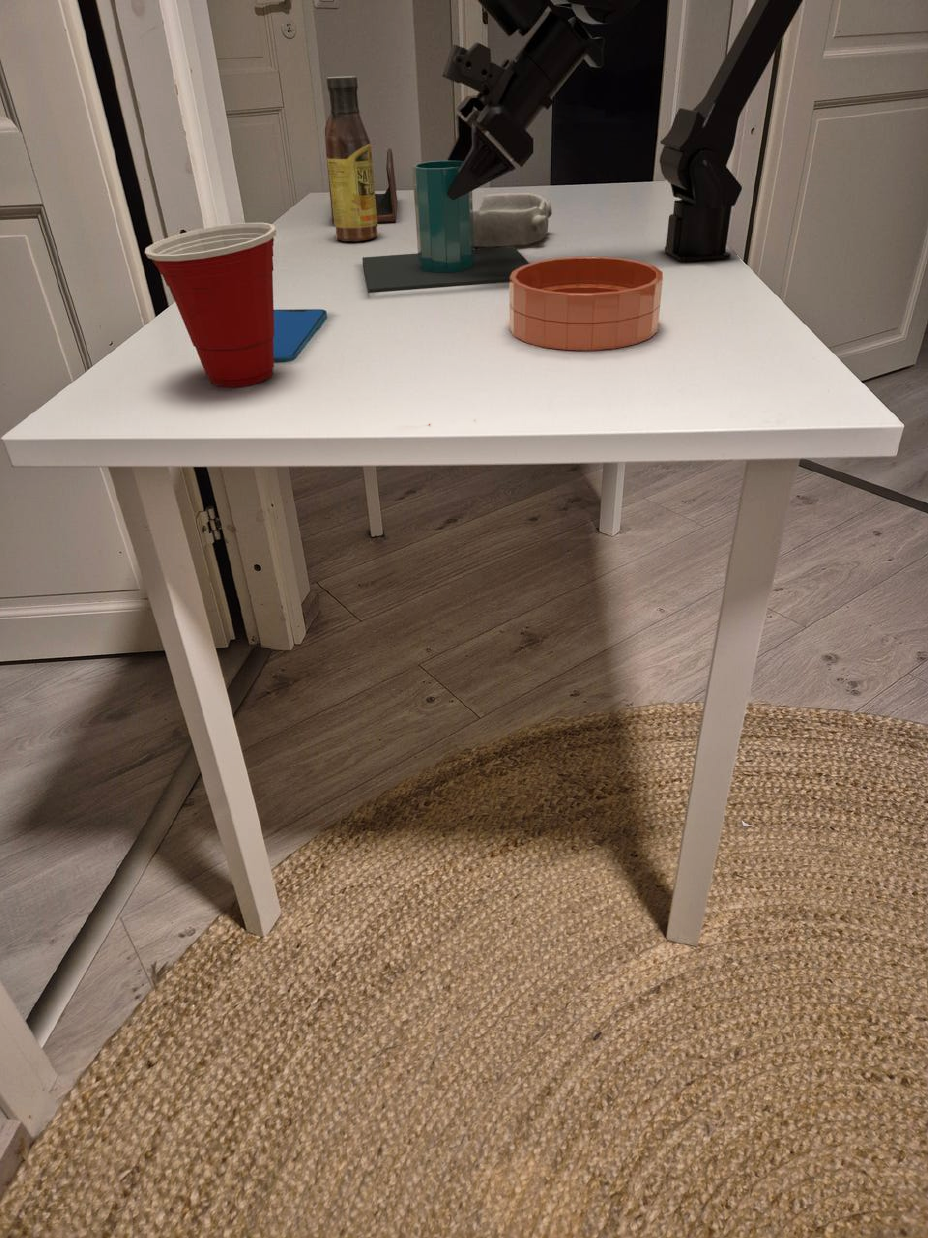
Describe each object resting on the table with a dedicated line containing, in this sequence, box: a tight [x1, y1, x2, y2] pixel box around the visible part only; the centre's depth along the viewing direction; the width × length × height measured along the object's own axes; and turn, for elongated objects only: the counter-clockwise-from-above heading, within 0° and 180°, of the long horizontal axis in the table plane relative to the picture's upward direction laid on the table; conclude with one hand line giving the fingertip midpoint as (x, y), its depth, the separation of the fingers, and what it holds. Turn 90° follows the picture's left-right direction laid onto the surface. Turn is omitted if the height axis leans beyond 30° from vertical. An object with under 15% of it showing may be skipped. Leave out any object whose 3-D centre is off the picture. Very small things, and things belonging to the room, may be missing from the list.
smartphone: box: [273, 308, 328, 363], centre depth 84 cm, size 7×1×15 cm
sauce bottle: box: [325, 75, 378, 242], centre depth 115 cm, size 6×6×20 cm
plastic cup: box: [144, 222, 277, 388], centre depth 71 cm, size 11×11×12 cm
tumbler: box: [411, 159, 475, 273], centre depth 98 cm, size 7×7×11 cm
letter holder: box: [324, 114, 398, 227], centre depth 133 cm, size 10×20×14 cm, turn 3°
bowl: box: [508, 256, 664, 352], centre depth 79 cm, size 14×14×6 cm
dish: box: [473, 192, 553, 248], centre depth 115 cm, size 14×14×5 cm
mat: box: [361, 245, 530, 298], centre depth 101 cm, size 20×16×1 cm
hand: (444, 190), depth 96 cm, fingers open, 9 cm apart
